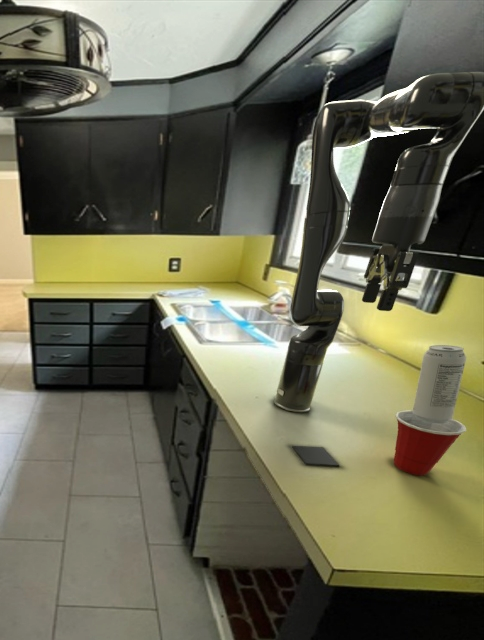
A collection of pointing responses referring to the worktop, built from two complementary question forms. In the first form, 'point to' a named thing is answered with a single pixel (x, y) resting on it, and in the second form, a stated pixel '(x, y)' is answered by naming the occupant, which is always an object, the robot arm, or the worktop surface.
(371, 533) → the worktop surface
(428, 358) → the energy drink can
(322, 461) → the coaster
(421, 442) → the plastic cup
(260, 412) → the worktop surface
